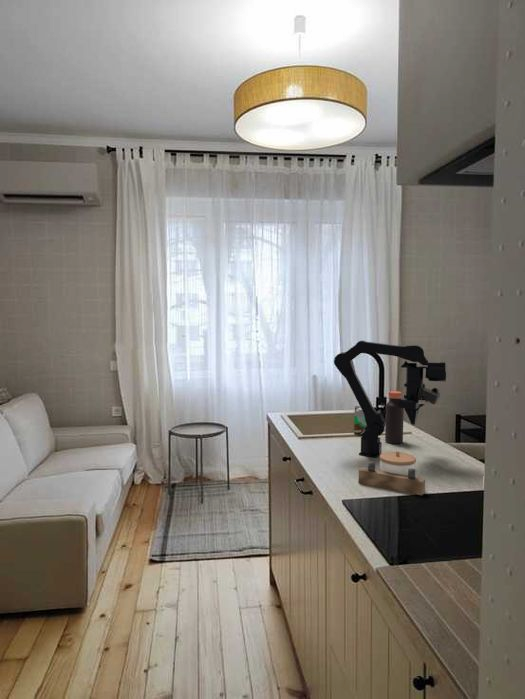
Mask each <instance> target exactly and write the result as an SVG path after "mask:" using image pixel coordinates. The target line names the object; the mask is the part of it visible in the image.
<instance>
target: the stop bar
mask: <svg viewBox="0 0 525 699" xmlns="http://www.w3.org/2000/svg"><path fill="white" fill-rule="evenodd" d="M367 462H368V466H367V467H363V466H362V467H360V468H359V469H358V481H357V482H358V484H363V485H368V486H373V487H378V488H382V489H387V490H393V491H398V492H403V493H409V494H412V495H418V496H424V494H425V492H426V478H425V477H424V478H423V477H418V476H416V468H415V469H412V468H409V469H408V476H407V475H402V474H395V473H389V472H385V471H381V469H380V470H379V469H376V462H375V461H367Z"/></svg>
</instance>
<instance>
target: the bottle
mask: <svg viewBox="0 0 525 699" xmlns="http://www.w3.org/2000/svg"><path fill="white" fill-rule="evenodd" d="M402 394H403V393H402V391H399V390H394V391H393V390H392V391H391V390H390V391H388V399H389V401H388V402H386V404H385V419H386V420H385V428H384V433H385V434H384V435H385V436H384V442H385V443H387V444H391V445H400V444H403V443H404V419H405V418H404V416H405V415H404V414H405V412H404V411H405V409H404V408H398V401H399V400H400V399H402V398H403V395H402Z"/></svg>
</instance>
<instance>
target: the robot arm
mask: <svg viewBox="0 0 525 699" xmlns="http://www.w3.org/2000/svg"><path fill="white" fill-rule="evenodd" d="M424 351H425V350H424V349H423V347H422V346H421V345H419V344H414V343H413V344H401V345H399V344H398V345H396V344H389V343H380V342H371V341H366V340H359V341H358V342H356V344H354V345H353V346H352V347H351V348H349V349H348V350H347V351H342V352H339V353H338V354H336V356H334V359H333V363H334V366H335V368H336V369H337V370H338V372H339V373H340V375H342V376H343V377H344V378H345V379H346V381H347V384H348V385H349V387H350V389H351V392H352V393H353V395H354V397H355V399H356V401H357V403H358V406H360V407H361V409H362V411H363V413H364V417H365V421H366V425H367V426H366V427H365V428H364V430H363V432H362V434H361V437H360V452H359V453H358V455H359V456H366V457H372V458H377V457H380V454H382V453H383V452H382V448H383V446H382V445H383V444H382V441H381V437H379V436H382V435H383V433H385V427H386V417H384V416H383V413H382V410H381V409H379V410H377V409H376V408H375V407H374V406H373V404H372V403H371V400H370V398H369V396H368V395H367V393H366V390H365V388H364V387H363V384H362V382H361V380H360V379H359V376H358V375H357V373H356V369H355V365H354V361H353V360H354V359H355V358H356V357H358V356H359V355H361V354H362V353H369V354H375V355H377V354H378V355H384V356H390V357H391V356H393V357H397V358H400V359H403V360H405V361H404V362H403V363H401V365H400V368H402V369H405V368H406V370H405V372H406V374H405V383H404V385H403V387H405V394H403V397H402V398H401V399H400V400H399V401H398V408H404V411H405V412H406V415H407V417H408V420H409V422H410V424H411V425H416V422H417V419H418V416H419V413H420V410H421V409H422V408H423V407H424V406H425V403H430V404H431V405H436V404H438V401H439V399H440V397H441V392H440V391H439V388H437V387H433V388H432V389H430V388H427V387H426V384H425V383H424V378H425V379H426V380H428V382H440V383H441V382H443V383H445V382H446V381H447V371H446V370H447V369H446V361H439V362H437V361H436V362H435V361H429V359H428V358H427V357H426V356H425V352H424ZM408 361H410V362H408ZM417 363H419V364H420V365H418V364H417ZM424 369H425V370H424ZM424 374H425V375H424ZM439 392H440V393H439ZM421 401H424V402H425V403H422V402H421Z"/></svg>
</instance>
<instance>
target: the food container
mask: <svg viewBox="0 0 525 699" xmlns="http://www.w3.org/2000/svg"><path fill="white" fill-rule="evenodd" d="M353 413H354V414H353V415H354V418H353V419H354V420H353V434H354V435H360V434H359V433H362V432H363V430H364V428H365V427H366V426H367V425H366V421H365V417H364V413H363V411H362V409H361V407H360V405H354V411H353Z"/></svg>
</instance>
